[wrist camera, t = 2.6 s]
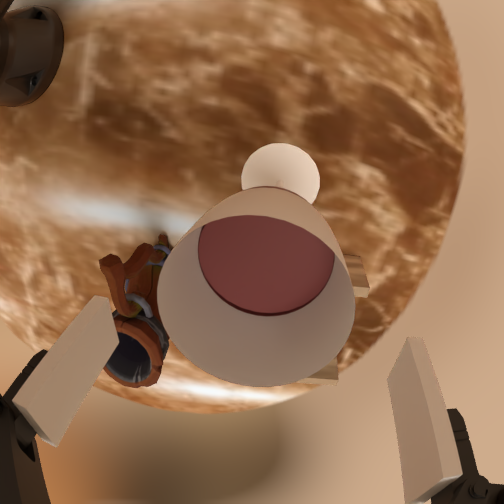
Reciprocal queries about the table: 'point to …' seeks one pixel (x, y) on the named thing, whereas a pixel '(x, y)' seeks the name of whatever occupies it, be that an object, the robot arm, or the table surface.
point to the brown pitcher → (137, 315)
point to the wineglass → (260, 279)
